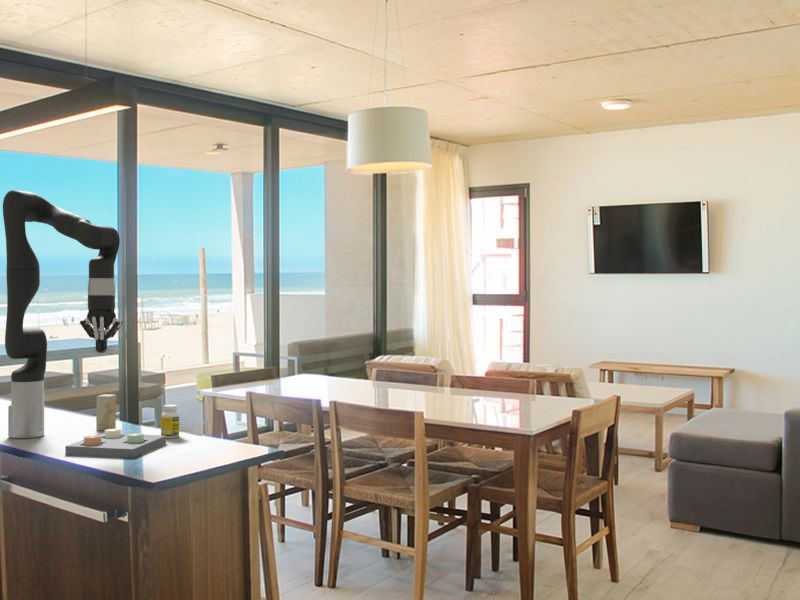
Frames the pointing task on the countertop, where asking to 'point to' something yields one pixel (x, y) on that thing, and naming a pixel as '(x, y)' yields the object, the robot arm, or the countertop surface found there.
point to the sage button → (135, 438)
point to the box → (106, 412)
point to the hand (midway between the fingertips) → (101, 352)
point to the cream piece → (113, 433)
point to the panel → (116, 447)
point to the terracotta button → (92, 440)
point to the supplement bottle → (170, 422)
